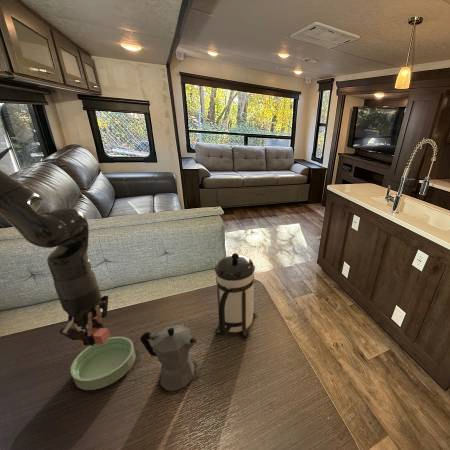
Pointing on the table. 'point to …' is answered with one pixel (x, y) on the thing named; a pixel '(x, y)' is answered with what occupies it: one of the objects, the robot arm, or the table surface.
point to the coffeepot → (172, 355)
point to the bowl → (103, 363)
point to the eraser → (99, 335)
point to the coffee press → (235, 293)
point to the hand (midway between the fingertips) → (95, 339)
